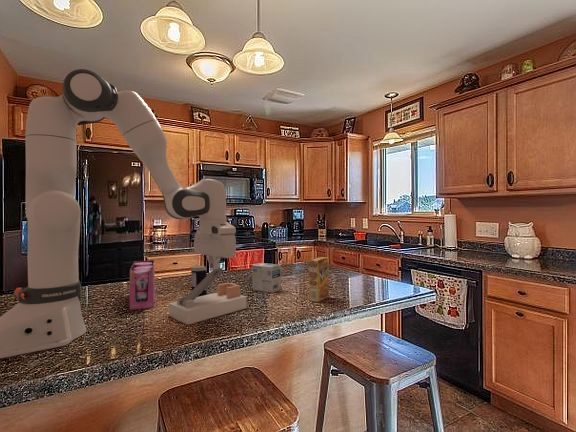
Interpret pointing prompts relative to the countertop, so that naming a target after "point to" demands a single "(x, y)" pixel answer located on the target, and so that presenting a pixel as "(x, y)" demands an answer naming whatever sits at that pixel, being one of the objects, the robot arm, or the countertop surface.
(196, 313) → the hinged pedal on base
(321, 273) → the candy box
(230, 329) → the countertop surface
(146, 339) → the countertop surface
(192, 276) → the beverage can
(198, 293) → the dark grey flat bar
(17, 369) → the countertop surface
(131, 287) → the gum box
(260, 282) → the light bulb box
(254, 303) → the countertop surface
